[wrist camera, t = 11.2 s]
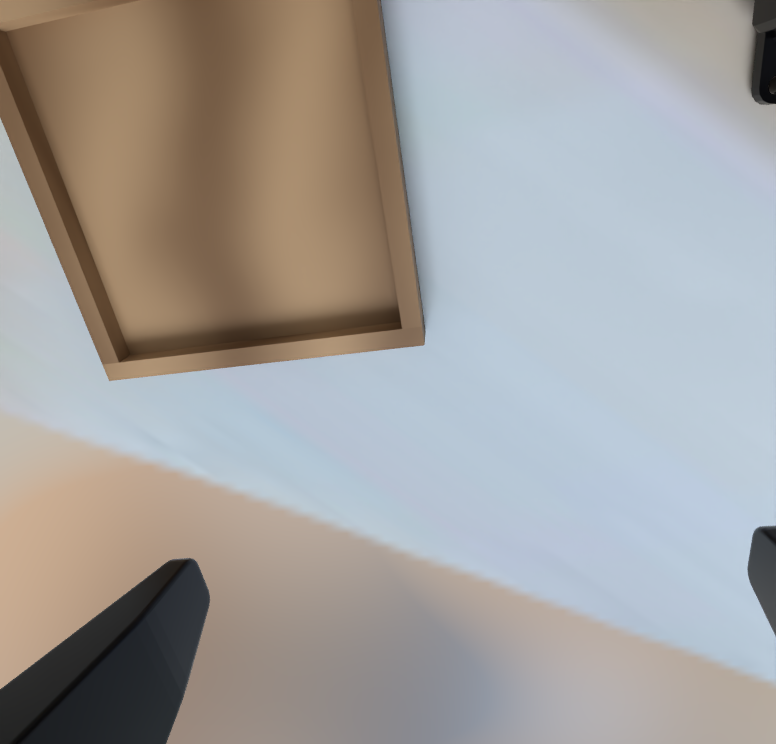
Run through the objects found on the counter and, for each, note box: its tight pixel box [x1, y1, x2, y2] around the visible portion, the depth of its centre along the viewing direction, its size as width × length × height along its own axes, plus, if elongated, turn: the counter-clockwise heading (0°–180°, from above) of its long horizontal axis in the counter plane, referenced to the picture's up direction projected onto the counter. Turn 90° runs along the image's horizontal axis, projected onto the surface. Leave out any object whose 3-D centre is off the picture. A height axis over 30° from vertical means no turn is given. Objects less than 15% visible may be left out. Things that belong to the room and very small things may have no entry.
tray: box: [0, 0, 425, 381], centre depth 17 cm, size 12×12×1 cm
